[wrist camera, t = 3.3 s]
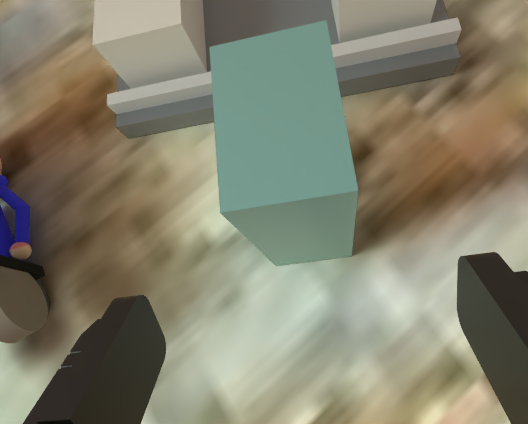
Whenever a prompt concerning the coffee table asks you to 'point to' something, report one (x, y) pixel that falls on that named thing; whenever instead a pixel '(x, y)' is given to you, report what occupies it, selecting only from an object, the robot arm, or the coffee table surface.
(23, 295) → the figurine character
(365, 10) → the mounted blocks
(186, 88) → the rail board
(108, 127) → the coffee table surface
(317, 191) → the block
